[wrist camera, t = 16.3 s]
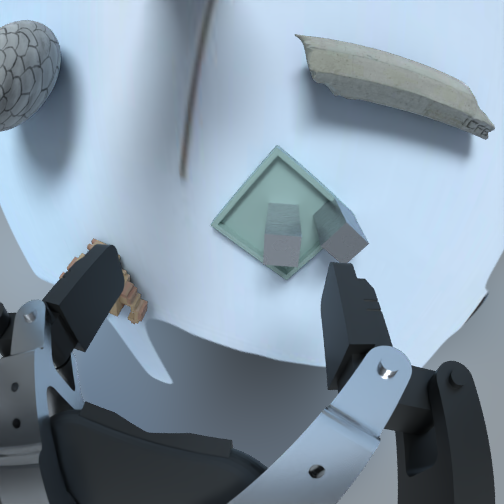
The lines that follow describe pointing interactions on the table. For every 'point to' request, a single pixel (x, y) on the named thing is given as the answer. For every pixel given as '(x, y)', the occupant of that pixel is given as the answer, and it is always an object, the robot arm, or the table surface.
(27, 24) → the decorative sphere
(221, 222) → the tray
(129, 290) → the toy
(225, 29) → the table surface
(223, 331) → the table surface
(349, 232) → the post
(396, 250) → the table surface
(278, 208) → the post
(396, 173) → the table surface
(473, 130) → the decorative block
